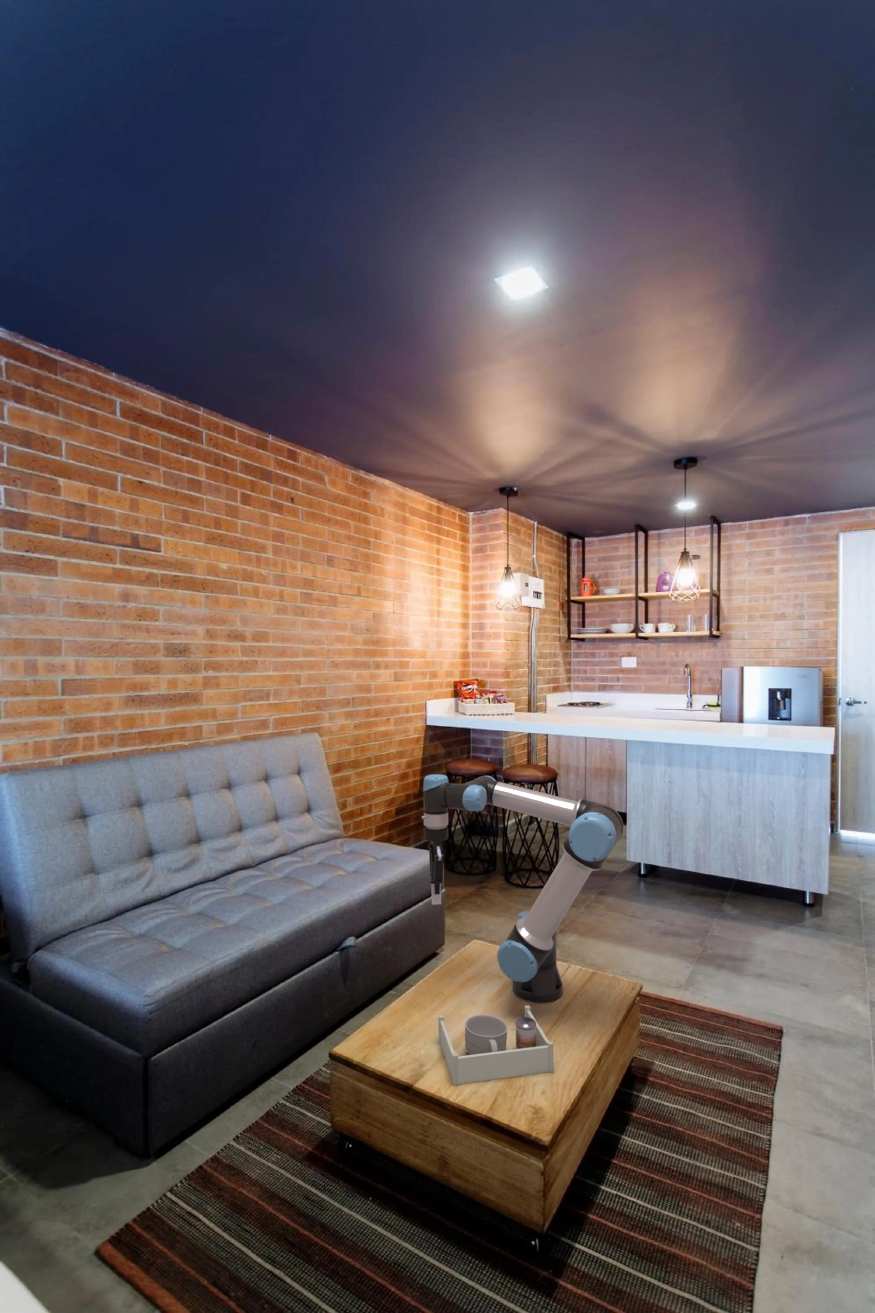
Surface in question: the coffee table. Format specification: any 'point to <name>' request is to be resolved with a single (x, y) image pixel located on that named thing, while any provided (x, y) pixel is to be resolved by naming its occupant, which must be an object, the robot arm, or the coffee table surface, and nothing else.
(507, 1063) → the crate
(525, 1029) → the tin can
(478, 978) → the coffee table surface
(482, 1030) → the teacup
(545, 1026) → the coffee table surface
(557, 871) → the robot arm
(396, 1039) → the coffee table surface
